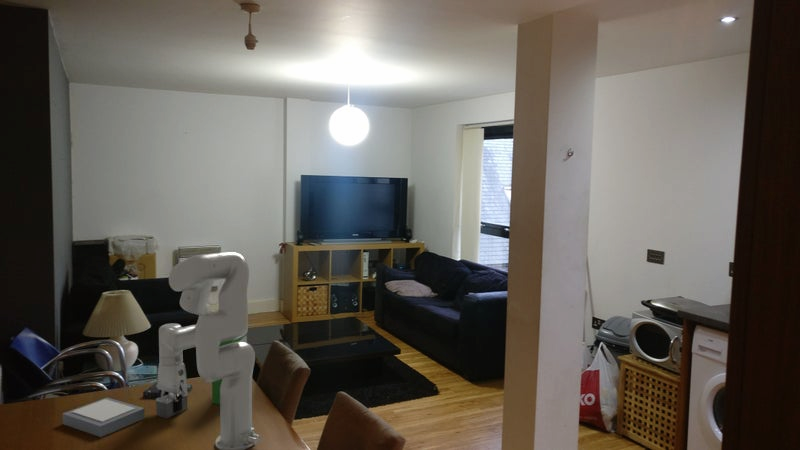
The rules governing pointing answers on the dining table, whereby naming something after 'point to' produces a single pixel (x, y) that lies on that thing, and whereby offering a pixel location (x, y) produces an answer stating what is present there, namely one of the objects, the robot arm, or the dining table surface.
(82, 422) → the stand
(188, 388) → the disk drive
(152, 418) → the dining table surface
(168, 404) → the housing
